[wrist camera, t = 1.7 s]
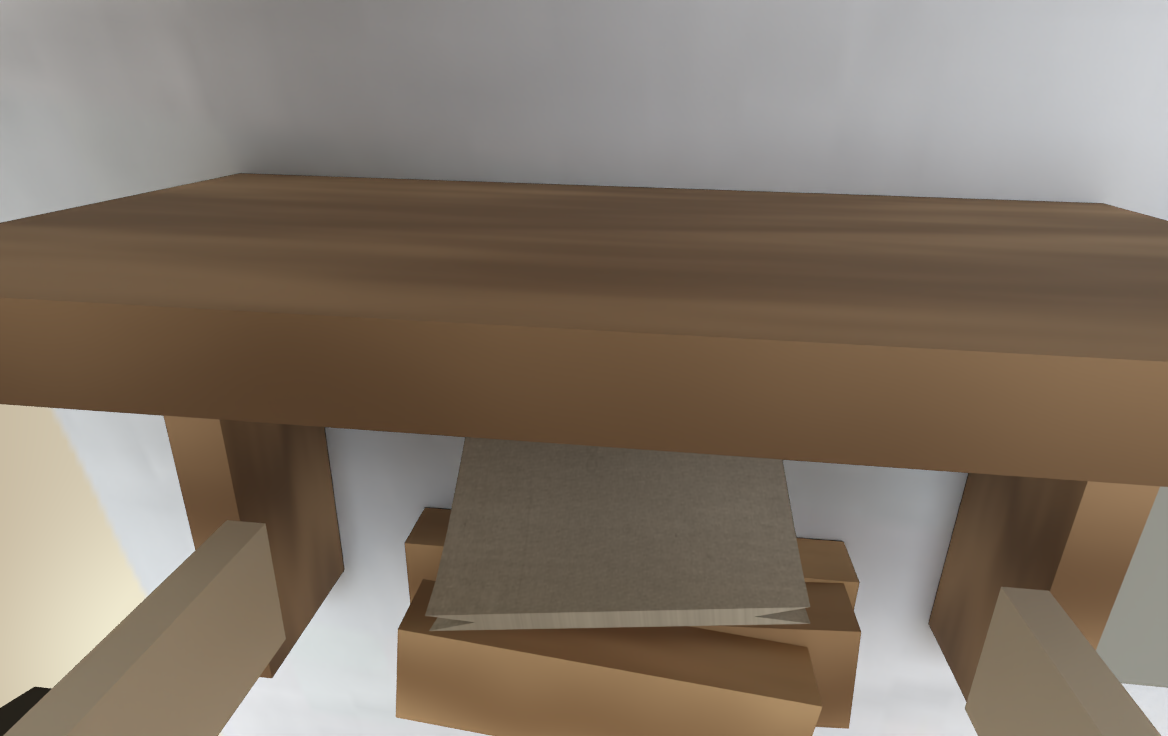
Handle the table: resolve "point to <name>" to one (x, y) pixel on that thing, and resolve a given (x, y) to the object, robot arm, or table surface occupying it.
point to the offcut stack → (632, 665)
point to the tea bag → (616, 540)
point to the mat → (1142, 608)
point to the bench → (621, 350)
